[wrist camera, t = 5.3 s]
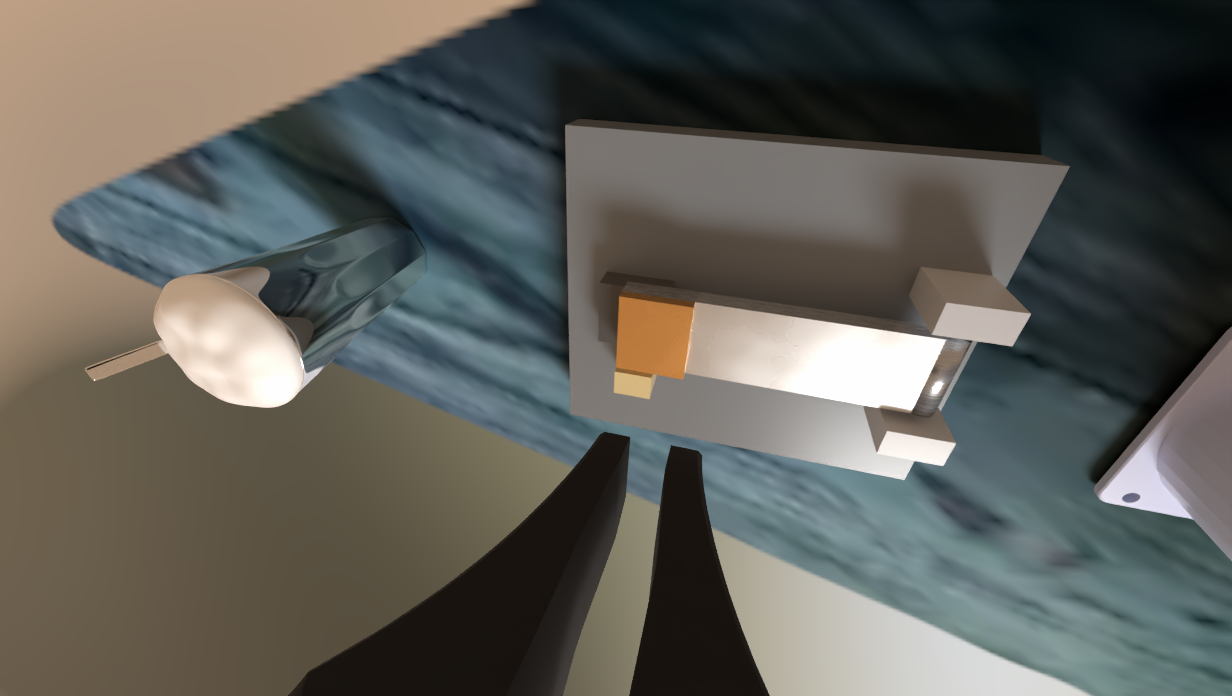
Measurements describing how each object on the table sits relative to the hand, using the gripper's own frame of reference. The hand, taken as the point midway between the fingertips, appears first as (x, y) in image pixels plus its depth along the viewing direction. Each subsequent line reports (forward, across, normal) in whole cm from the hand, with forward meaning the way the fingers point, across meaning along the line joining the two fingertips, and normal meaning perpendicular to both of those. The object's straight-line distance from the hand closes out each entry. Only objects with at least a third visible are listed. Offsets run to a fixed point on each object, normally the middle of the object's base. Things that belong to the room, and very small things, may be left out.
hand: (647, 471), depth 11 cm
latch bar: (+7, -3, 0) cm, 8 cm away
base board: (+9, -2, 0) cm, 10 cm away
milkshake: (+10, +14, 0) cm, 17 cm away
